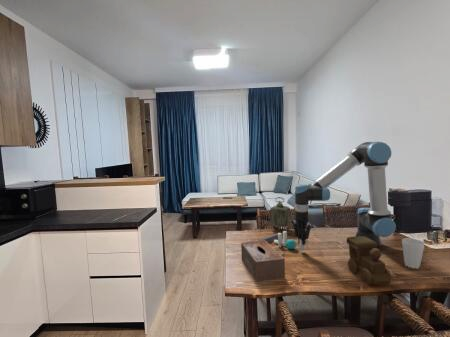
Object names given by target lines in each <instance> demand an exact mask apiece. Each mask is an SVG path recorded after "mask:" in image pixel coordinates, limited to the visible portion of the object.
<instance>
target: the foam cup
mask: <svg viewBox="0 0 450 337" xmlns="http://www.w3.org/2000/svg"><path fill="white" fill-rule="evenodd" d="M401 245H402V252H403V260H404V261H403V262H404V265H405V267H407V266H408V268H410V267H411V268H410V269H415V268H416V269H420V268H419V267H421V263H422V260H423V258H422V257H423V254H424V249H425V242H424V241H423V240H420V239H417V238H412V237H411V238H410V237H404V238H402V239H401Z"/></svg>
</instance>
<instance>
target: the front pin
mask: <svg viewBox="0 0 450 337" xmlns="http://www.w3.org/2000/svg"><path fill="white" fill-rule="evenodd" d="M273 244H276V245H278V239H276V240H274V241H273ZM282 247H284V248H287V246H286V243H284V242H283V241H282Z"/></svg>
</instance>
